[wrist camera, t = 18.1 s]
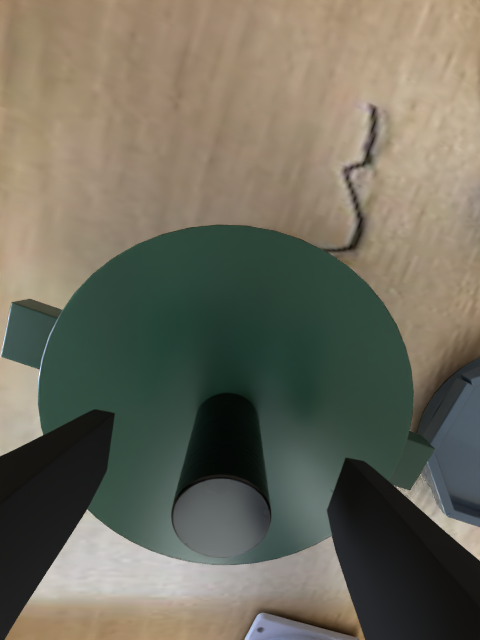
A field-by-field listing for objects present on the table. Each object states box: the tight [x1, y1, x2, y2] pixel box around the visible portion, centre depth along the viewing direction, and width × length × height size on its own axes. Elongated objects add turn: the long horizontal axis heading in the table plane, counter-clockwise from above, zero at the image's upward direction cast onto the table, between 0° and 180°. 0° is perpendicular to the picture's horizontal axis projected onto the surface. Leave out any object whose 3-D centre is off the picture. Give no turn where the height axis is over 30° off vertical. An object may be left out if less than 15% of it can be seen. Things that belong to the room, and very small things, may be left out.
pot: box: [1, 299, 435, 490], centre depth 13 cm, size 13×19×4 cm
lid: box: [38, 225, 414, 565], centre depth 9 cm, size 14×14×5 cm
